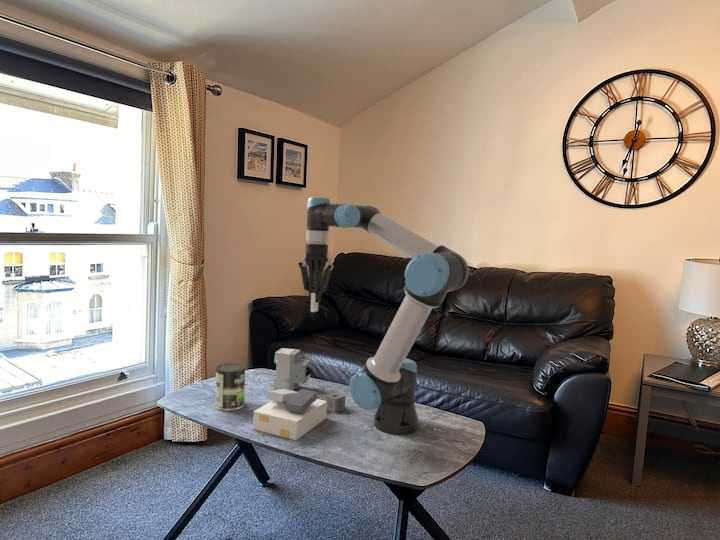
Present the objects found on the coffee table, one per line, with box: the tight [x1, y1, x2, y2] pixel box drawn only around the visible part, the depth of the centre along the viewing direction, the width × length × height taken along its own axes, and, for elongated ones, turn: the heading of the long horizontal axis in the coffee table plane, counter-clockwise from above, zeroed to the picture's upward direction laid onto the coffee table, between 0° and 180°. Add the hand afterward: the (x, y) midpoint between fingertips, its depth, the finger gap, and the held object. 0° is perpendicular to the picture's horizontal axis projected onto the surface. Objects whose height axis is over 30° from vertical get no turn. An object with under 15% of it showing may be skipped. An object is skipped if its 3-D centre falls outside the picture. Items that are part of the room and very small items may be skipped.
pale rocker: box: [266, 389, 298, 402], centre depth 166 cm, size 6×10×2 cm, turn 156°
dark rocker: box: [285, 388, 318, 413], centre depth 161 cm, size 6×10×2 cm, turn 156°
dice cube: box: [325, 391, 346, 413], centre depth 179 cm, size 5×5×5 cm
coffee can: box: [214, 362, 246, 412], centre depth 176 cm, size 10×10×14 cm
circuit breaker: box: [272, 347, 314, 391], centre depth 197 cm, size 8×14×15 cm, turn 78°
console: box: [252, 398, 328, 441], centre depth 164 cm, size 16×20×7 cm
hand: (314, 311), depth 170 cm, fingers closed
